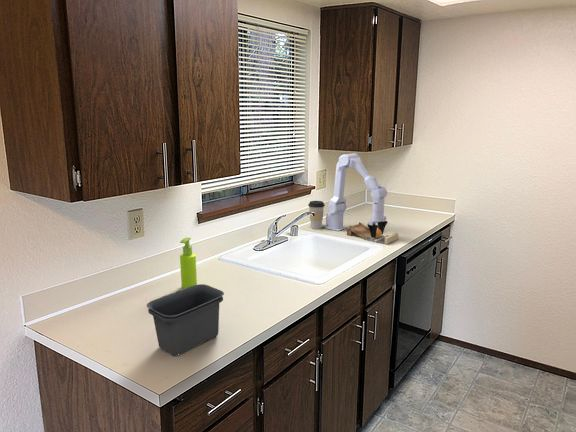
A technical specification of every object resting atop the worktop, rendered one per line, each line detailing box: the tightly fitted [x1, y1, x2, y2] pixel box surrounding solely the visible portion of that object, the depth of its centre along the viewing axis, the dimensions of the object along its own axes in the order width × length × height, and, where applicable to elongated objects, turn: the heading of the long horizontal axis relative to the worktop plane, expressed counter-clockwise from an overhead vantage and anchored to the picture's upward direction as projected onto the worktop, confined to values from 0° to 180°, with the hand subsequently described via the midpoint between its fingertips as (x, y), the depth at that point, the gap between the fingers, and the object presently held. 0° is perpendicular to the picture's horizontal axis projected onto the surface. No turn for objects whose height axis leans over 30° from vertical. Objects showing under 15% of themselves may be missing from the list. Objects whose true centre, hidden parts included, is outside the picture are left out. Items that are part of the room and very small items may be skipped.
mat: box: [363, 232, 399, 246], centre depth 244 cm, size 14×12×3 cm
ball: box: [375, 228, 383, 238], centre depth 245 cm, size 5×5×5 cm
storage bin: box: [146, 283, 225, 357], centre depth 140 cm, size 21×16×14 cm
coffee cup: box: [307, 200, 326, 230], centre depth 265 cm, size 9×9×15 cm
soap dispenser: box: [179, 237, 198, 290], centre depth 179 cm, size 6×7×20 cm
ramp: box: [346, 222, 371, 240], centre depth 251 cm, size 14×10×7 cm
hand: (376, 235), depth 245 cm, fingers open, 7 cm apart
